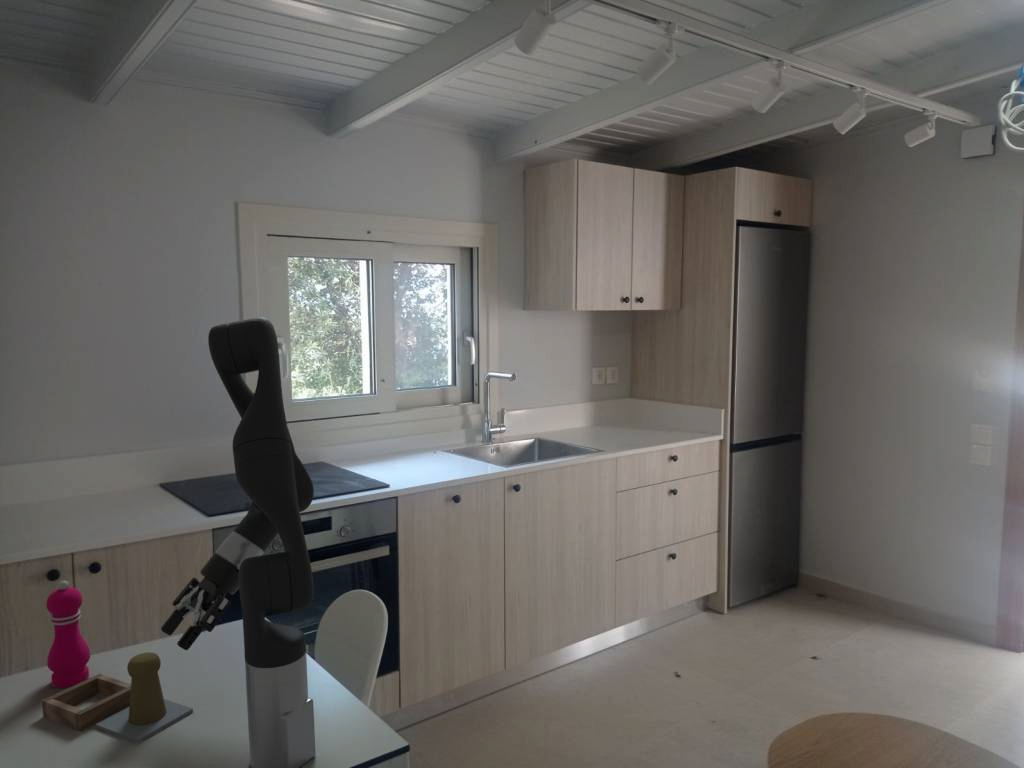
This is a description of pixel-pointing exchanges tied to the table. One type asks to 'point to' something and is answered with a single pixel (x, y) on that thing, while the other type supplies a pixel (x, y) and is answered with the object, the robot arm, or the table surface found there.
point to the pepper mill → (67, 638)
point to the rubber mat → (138, 733)
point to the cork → (145, 690)
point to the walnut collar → (78, 719)
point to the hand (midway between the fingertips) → (173, 640)
